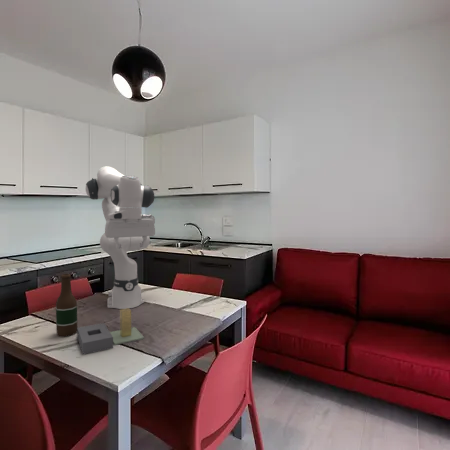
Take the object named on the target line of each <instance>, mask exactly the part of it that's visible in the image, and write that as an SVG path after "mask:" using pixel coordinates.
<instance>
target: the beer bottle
mask: <svg viewBox="0 0 450 450" xmlns="http://www.w3.org/2000/svg"><path fill="white" fill-rule="evenodd" d="M71 275H72V274H70V273H63V274H61V275H60V278H61V285H60V286H61V287H60V294H59V296H58V297H57V299H56V303H55V319H56V320H55V326H56V329H55V331H56V335H57V336H58V337H64V338H65V337H66V338H67V337H70V336H73V335H75V334H77V328H78V303H77V299H76V297H75V296H74V294H73V291H72V281H71V278H72V276H71Z"/></svg>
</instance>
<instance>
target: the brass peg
mask: <svg viewBox="0 0 450 450" xmlns="http://www.w3.org/2000/svg"><path fill="white" fill-rule="evenodd" d="M131 328H132V310H131V308H126V309H119V330H120V335H121V336H122V337H126V336H131Z"/></svg>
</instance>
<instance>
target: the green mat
mask: <svg viewBox="0 0 450 450" xmlns="http://www.w3.org/2000/svg"><path fill="white" fill-rule="evenodd" d="M109 332H110V333H111V335H112V336H113V346H117V345H118V346H119V345H122V344H126V343H130V342H135V341H141V340H144V339H145V336H144V335H143V334H142V333H141V332H140V331H139V330H138V329H137V328H136V326H135V327H131V336H126V337H122V336H121V335H120V329H119V330H114V331H113V330H112V331H109Z"/></svg>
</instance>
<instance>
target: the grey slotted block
mask: <svg viewBox="0 0 450 450" xmlns="http://www.w3.org/2000/svg"><path fill="white" fill-rule="evenodd" d="M110 332H111V331H110V330H109V329H108V327H107V325H106V323H104V322H102V323H95V324H91V325H84V326H80V327H77V333H76V334H77V335H76V336H77V337H76V338H77V340H78V344H79V346H80V350H81V352H82V355H86V354H91V353H96V352H100V351H105V350H110V349H113V348H114V343H113V336H112V335H111V333H110Z"/></svg>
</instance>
